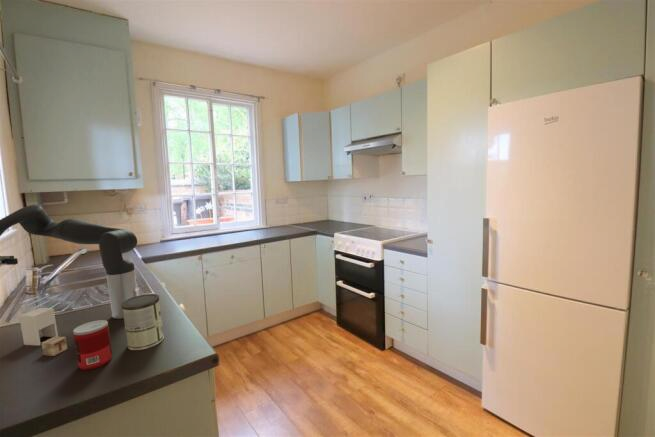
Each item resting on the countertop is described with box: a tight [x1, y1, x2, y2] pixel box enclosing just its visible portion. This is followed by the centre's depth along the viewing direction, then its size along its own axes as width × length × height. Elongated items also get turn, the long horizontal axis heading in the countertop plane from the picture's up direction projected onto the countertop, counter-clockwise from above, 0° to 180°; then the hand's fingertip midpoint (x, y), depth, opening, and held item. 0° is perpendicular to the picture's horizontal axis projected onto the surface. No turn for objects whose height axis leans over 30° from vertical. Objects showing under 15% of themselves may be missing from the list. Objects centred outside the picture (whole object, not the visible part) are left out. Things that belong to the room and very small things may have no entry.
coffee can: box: [121, 293, 165, 351], centre depth 99 cm, size 10×10×14 cm
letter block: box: [41, 336, 68, 357], centre depth 97 cm, size 4×4×4 cm
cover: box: [18, 307, 59, 347], centre depth 104 cm, size 6×6×10 cm
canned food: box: [72, 319, 113, 371], centre depth 89 cm, size 8×8×11 cm
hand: (1, 264), depth 103 cm, fingers open, 8 cm apart
